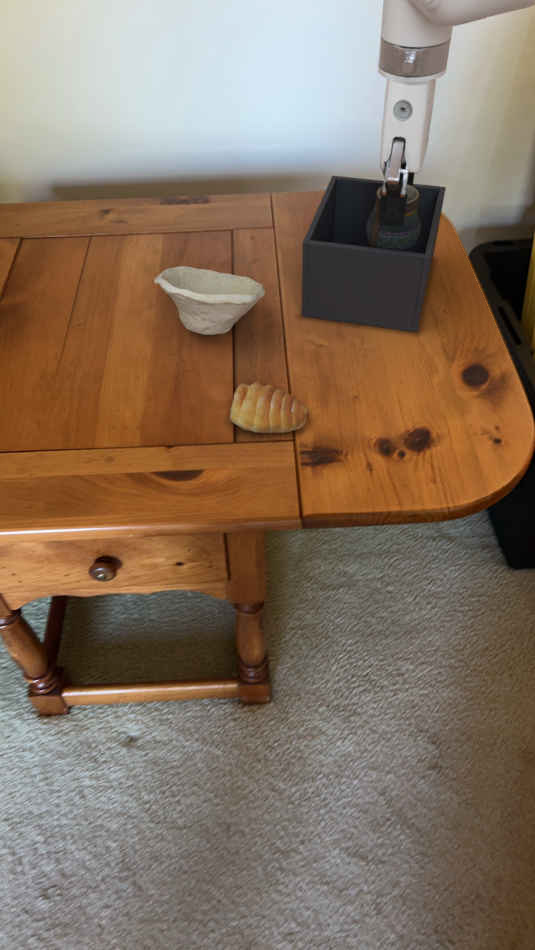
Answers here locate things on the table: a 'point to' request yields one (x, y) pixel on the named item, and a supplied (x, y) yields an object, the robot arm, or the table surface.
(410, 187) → the mate gourd
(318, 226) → the trash bin
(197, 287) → the bowl
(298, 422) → the pastry
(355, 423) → the table surface
